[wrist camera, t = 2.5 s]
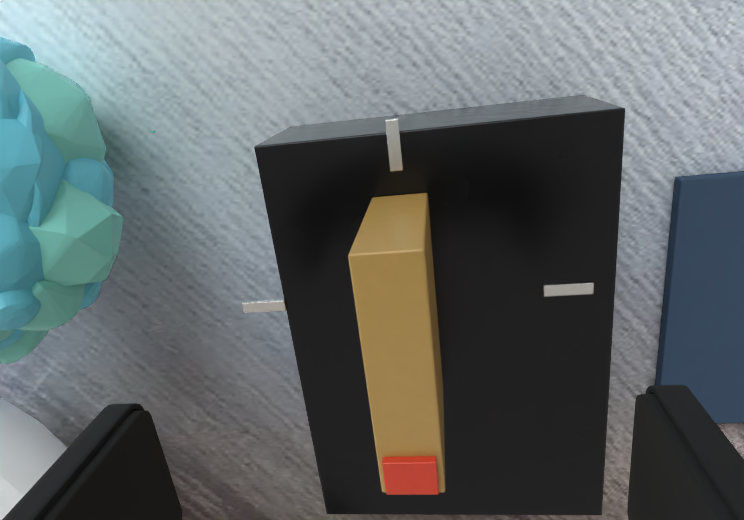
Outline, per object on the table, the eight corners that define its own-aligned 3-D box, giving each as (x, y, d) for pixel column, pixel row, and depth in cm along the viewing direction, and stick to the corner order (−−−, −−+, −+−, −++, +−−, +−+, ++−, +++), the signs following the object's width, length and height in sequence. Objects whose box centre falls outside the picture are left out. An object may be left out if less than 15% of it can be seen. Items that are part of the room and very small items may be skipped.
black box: (251, 120, 19) (203, 139, 15) (585, 83, 17) (629, 93, 13) (314, 442, 24) (291, 517, 20) (574, 437, 22) (603, 519, 18)
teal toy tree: (184, 344, 27) (262, 184, 15) (-12, 450, 22) (-129, 330, 10) (79, 178, 28) (75, -86, 17) (-129, 238, 23) (-354, -88, 11)
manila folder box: (371, 197, 15) (345, 258, 11) (427, 192, 15) (423, 252, 10) (394, 386, 17) (380, 501, 13) (443, 385, 17) (445, 501, 13)
